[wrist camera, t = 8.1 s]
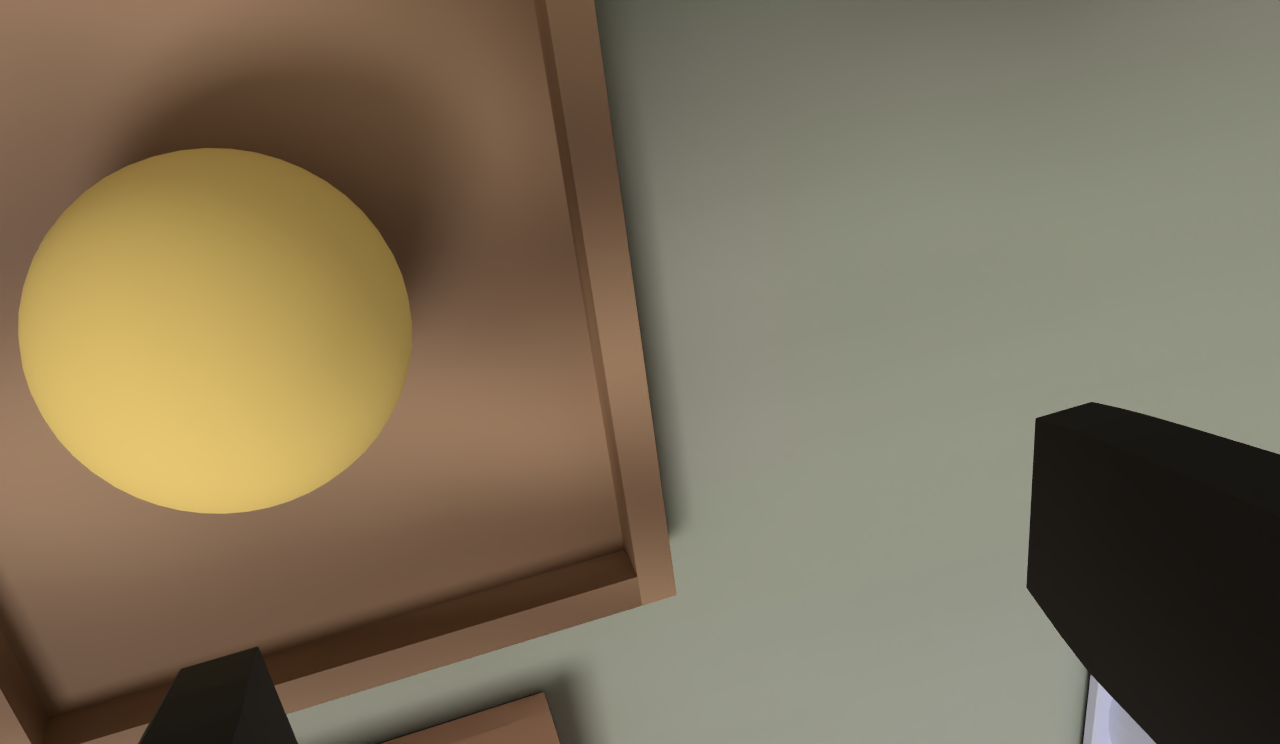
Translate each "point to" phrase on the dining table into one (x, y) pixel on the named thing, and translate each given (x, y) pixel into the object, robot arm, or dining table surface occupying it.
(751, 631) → the dining table surface
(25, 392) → the tray
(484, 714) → the dish
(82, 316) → the ball
